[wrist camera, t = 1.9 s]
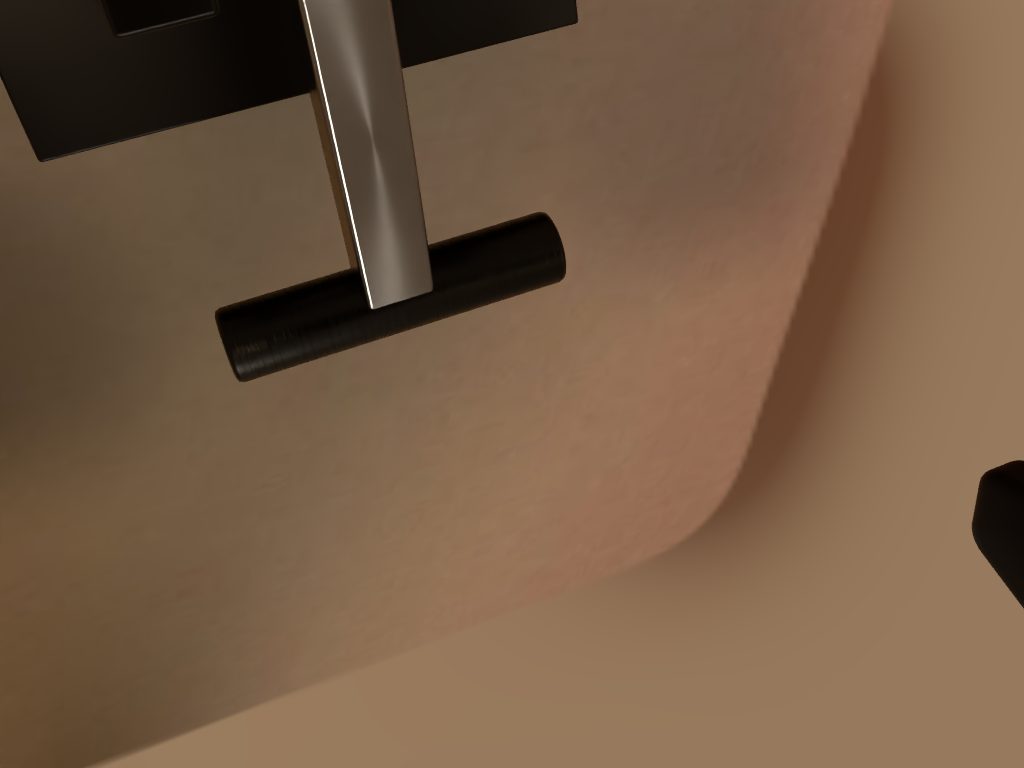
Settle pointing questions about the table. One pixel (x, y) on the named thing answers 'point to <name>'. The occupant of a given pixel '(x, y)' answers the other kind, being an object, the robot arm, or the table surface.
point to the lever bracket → (200, 58)
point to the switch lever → (377, 214)
